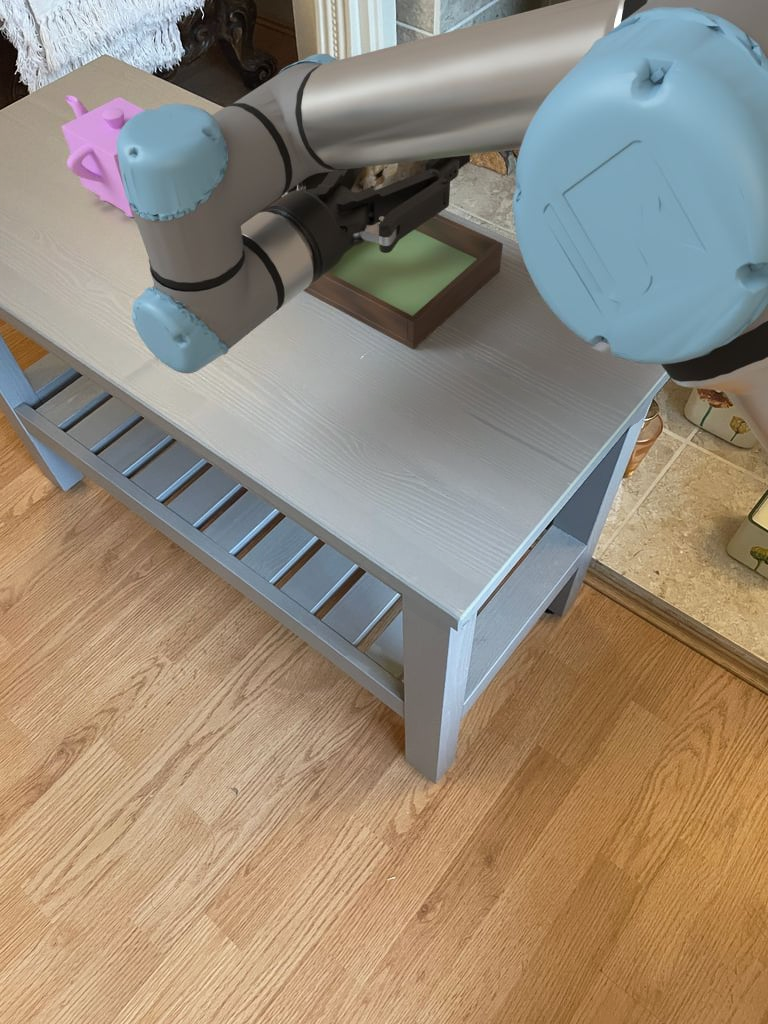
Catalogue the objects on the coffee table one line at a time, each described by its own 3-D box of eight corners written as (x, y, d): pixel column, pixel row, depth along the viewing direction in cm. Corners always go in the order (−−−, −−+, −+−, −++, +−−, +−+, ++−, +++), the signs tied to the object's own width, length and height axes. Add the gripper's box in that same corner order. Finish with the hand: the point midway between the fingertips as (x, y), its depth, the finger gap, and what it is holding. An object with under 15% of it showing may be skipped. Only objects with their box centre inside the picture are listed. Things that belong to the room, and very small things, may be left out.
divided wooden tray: (499, 271, 94) (503, 243, 91) (413, 349, 87) (413, 322, 84) (295, 175, 106) (291, 148, 103) (204, 237, 99) (197, 210, 96)
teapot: (203, 164, 108) (184, 82, 99) (188, 225, 100) (167, 142, 91) (90, 166, 108) (62, 84, 99) (67, 227, 101) (34, 145, 92)
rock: (389, 250, 79) (401, 141, 73) (342, 231, 83) (350, 126, 77) (464, 231, 87) (480, 131, 81) (418, 214, 90) (430, 117, 84)
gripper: (218, 243, 79) (367, 139, 89) (371, 325, 72) (514, 202, 82) (203, 173, 73) (365, 70, 83) (368, 255, 66) (523, 131, 76)
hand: (439, 136), depth 82 cm, fingers closed on rock, 6 cm apart
